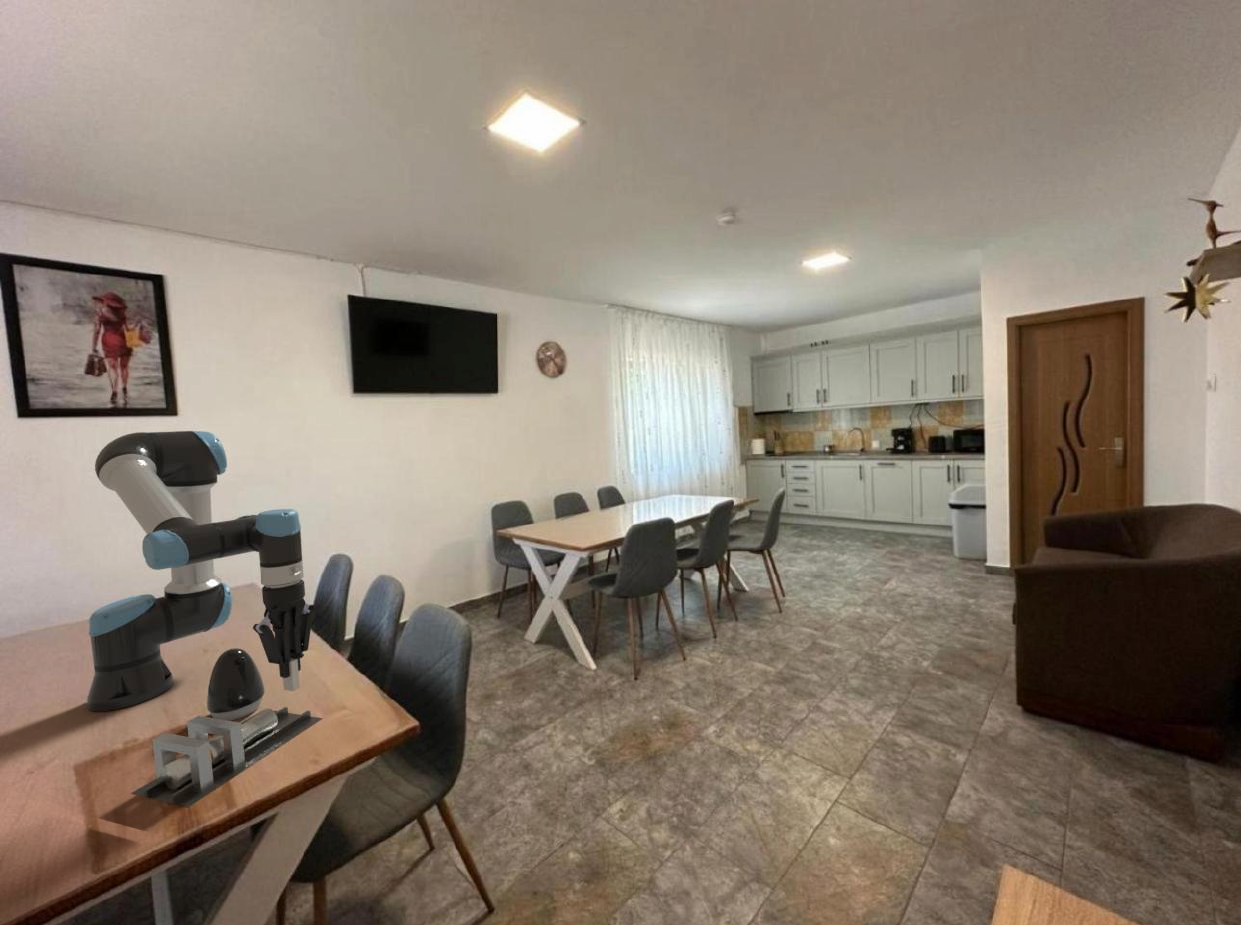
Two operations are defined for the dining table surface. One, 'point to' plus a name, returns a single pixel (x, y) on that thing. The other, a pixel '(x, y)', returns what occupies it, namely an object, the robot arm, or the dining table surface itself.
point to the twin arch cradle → (200, 757)
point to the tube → (219, 748)
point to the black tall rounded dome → (234, 686)
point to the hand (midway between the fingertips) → (291, 688)
